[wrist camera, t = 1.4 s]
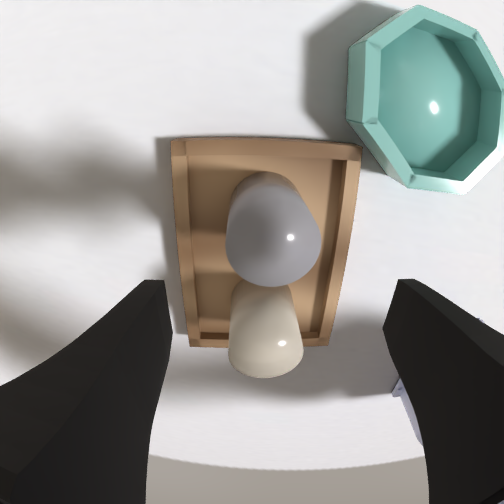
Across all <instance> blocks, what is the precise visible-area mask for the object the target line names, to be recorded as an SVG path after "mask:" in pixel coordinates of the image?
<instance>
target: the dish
mask: <svg viewBox="0 0 504 504" xmlns="http://www.w3.org/2000/svg"><path fill="white" fill-rule="evenodd" d="M346 119H347V120H346V121H347V122H348V123H349V125H350V126H351V127H352V128H353V130H354V131H355V132H356V133H357V135H358V136H359V137H360V139H361V140H362V141H363V143H364V144H365V145H366V147H367V148H368V149H369V151H370V152H371V153H372V155H373V156H374V157H375V159H376V160H377V161H378V163H379V164H380V166H381V167H382V169H383V170H384V171H385V173H386V174H387V175H388V176H390V177H391V178H393V179H394V180H396V181H398V182H399V183H401V184H402V185H404V186H405V187H407V188H411V189H420V190H428V191H437V192H444V193H452V194H459V195H465V194H466V193H467V192H468V191H469V190H470V189H471V188H472V187H473V186H474V185H475V184H476V183H477V182H478V181H479V180H480V179H481V178H482V177H483V176H484V175H485V174H486V173H487V172H488V171H489V170H490V169H491V168H492V167H493V166H494V165H495V163H496V162H497V161H498V160H499V159H500V158H501V157H502V156H503V154H504V78H503V76H502V74H501V72H500V70H499V68H498V66H497V64H496V62H495V60H494V58H493V56H492V55H491V53H490V51H489V49H488V47H487V46H486V44H485V42H484V40H483V39H482V37H481V35H480V34H479V32H478V31H477V30H476V29H474V28H472V27H470V26H468V25H466V24H464V23H462V22H460V21H458V20H455V19H453V18H451V17H449V16H446V15H444V14H442V13H439V12H437V11H434V10H432V9H429V8H426V7H424V6H421V5H416V6H413V7H411V8H408V9H406V10H404V11H401V12H399V13H397V14H395V15H394V16H392V17H391V18H389V19H388V20H386V21H385V22H383V23H382V24H380V25H379V26H378V27H376V28H375V29H373V30H372V31H370V32H369V33H368V34H366V35H365V36H364V37H362V38H361V39H359V40H358V41H357V42H355V43H354V44H353V45H351V46H350V48H349V52H348V83H347V103H346Z"/></svg>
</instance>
